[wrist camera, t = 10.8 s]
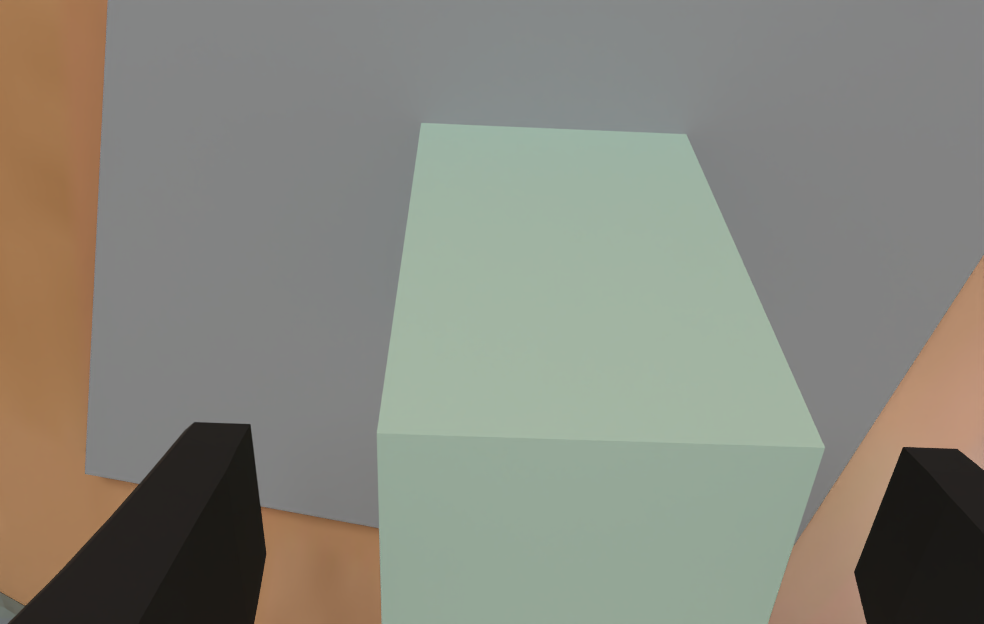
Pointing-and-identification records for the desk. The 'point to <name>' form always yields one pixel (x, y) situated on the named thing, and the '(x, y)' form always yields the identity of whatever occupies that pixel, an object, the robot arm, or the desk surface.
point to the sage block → (581, 392)
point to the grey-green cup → (8, 609)
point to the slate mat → (512, 103)
